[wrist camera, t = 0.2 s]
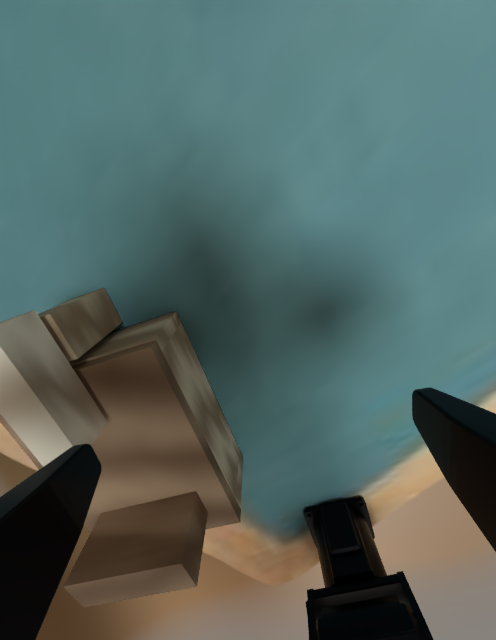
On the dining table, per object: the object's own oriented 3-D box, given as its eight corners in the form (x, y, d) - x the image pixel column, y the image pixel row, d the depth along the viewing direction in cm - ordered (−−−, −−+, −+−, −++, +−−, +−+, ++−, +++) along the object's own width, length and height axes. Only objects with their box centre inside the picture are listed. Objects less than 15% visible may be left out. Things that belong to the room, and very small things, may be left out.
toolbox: (242, 456, 27) (240, 520, 21) (133, 483, 28) (104, 549, 23) (156, 269, 20) (120, 288, 15) (22, 316, 22) (-58, 351, 16)
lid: (241, 497, 23) (237, 597, 17) (116, 525, 25) (71, 626, 19) (161, 333, 18) (114, 393, 12) (8, 381, 19) (-104, 457, 13)
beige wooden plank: (107, 422, 17) (81, 458, 15) (74, 431, 18) (44, 468, 15) (34, 309, 15) (-12, 330, 12) (-2, 322, 15) (-55, 345, 12)
